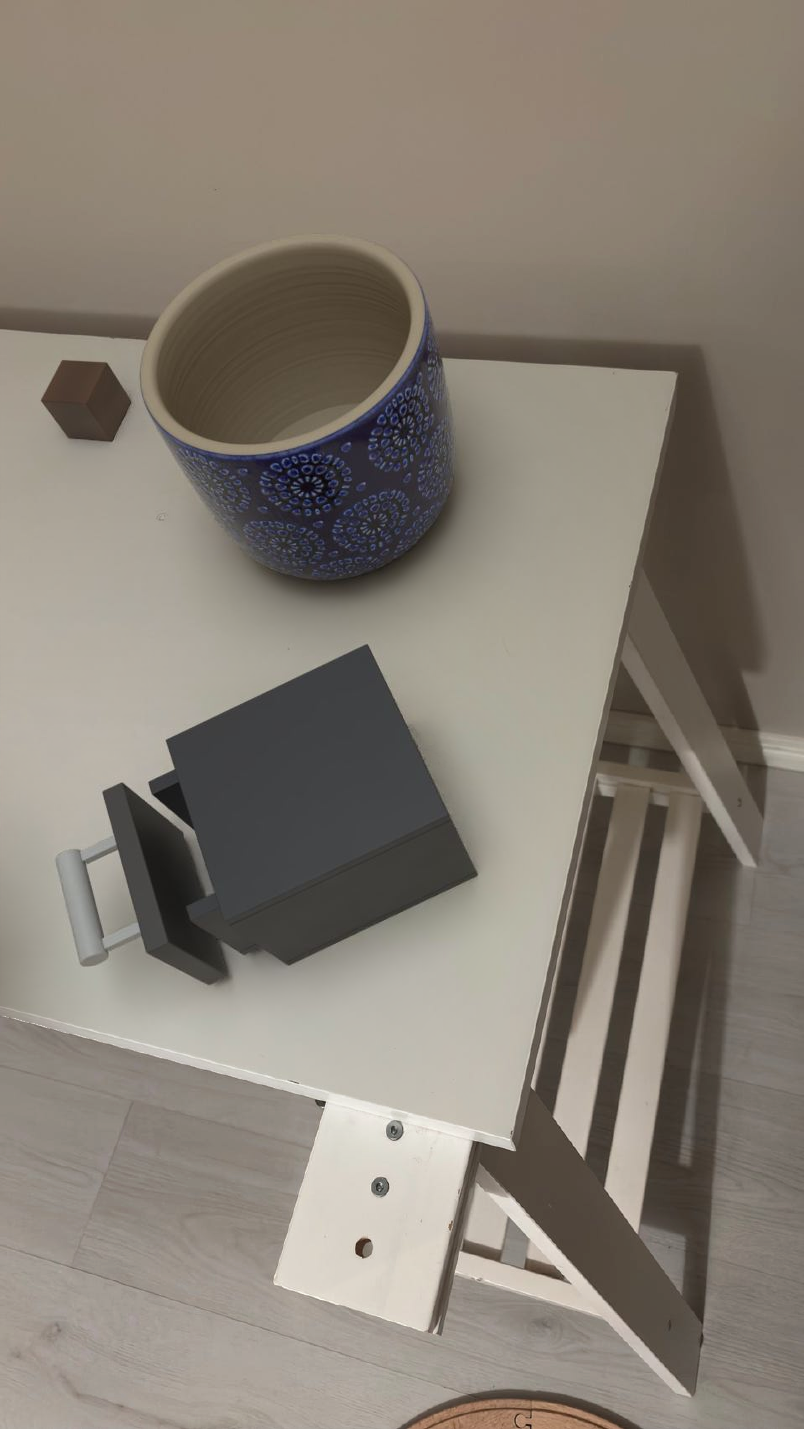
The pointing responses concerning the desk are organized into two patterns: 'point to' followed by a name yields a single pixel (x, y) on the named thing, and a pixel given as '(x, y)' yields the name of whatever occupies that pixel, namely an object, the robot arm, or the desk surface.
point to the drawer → (150, 888)
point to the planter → (307, 403)
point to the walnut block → (86, 400)
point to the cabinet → (316, 810)
